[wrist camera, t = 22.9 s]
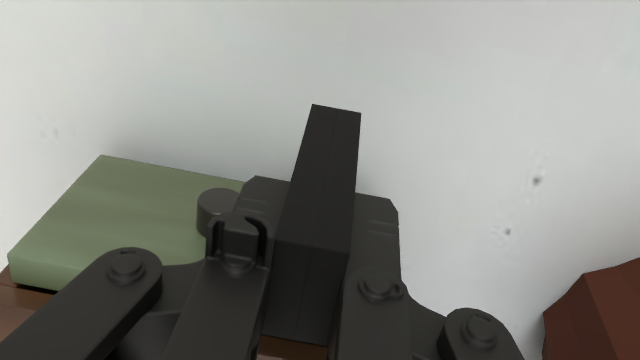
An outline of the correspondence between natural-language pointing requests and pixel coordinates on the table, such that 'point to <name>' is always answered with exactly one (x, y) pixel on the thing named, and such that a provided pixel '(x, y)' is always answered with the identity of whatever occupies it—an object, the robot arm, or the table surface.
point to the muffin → (597, 317)
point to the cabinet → (23, 300)
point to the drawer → (122, 220)
